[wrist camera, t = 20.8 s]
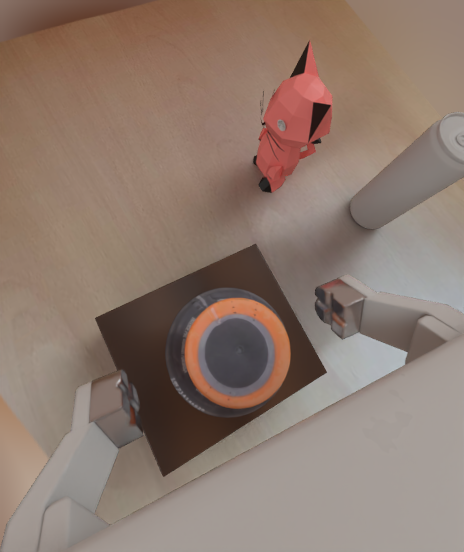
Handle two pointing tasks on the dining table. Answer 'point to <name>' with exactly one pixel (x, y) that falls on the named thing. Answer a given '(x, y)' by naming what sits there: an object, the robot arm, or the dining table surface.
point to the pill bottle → (227, 352)
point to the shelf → (152, 364)
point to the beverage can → (413, 174)
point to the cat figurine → (293, 122)
